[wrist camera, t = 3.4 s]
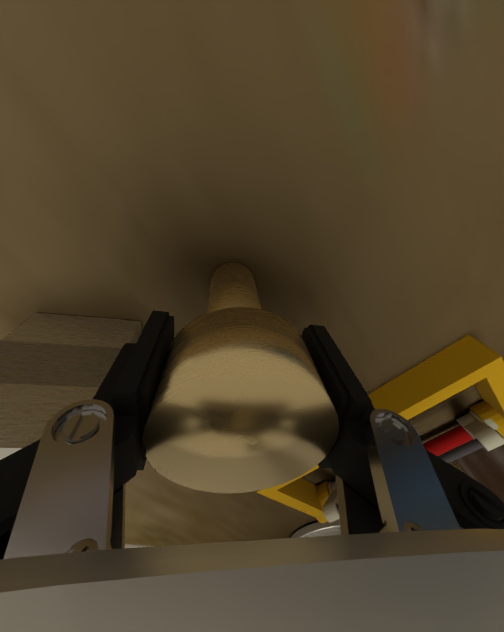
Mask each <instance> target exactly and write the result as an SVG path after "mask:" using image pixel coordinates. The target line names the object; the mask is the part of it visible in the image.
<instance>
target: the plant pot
mask: <svg viewBox="0 0 504 632" xmlns="http://www.w3.org/2000/svg"><path fill="white" fill-rule="evenodd" d="M472 440H473V439H472ZM472 440H470V441H472ZM468 442H469V441H468ZM466 443H467V442H466ZM464 444H465V443H464ZM462 445H463V444H462ZM460 446H461V445H460ZM458 447H459V446H458ZM455 448H457V447H455ZM456 462H457V463H458V465H459V466H460V467H461V469H462V470H463V471H464V473H465V474H466V475H468V476H470V477H471V478H473V479H474V480H476V481H478V482H479V483H481V484H482V485H484V486H485V487H486V488H488V489H489V490H491V491H492V492H493V493H494V494H495V495H496V496H497V497H498V498H500V499H501V500H502V502H503V503H504V444H503V445H501V446H499V447H497V448H495V449H492V450H490V451H487V450H486V449H485V448H481V449H479V450H476V451H474V452H472V453H470V454H468V455H465V456H463V457H461V458H459V459H457V460H456Z"/></svg>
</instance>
